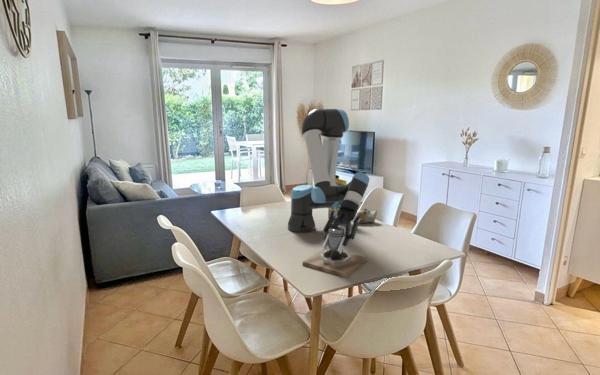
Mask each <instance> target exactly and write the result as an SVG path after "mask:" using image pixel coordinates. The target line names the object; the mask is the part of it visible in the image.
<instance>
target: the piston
mask: <svg viewBox="0 0 600 375" xmlns="http://www.w3.org/2000/svg"><path fill="white" fill-rule="evenodd" d="M328 234H329V236H328V257H329V258H331V259H342V258H343V251H344V249H343V250H342V253H341V254H340V253H339V252H338V251H337V250H338V248H339V245H340V243H341V240H342V238H343V237H345V228H343V227H341V226H338V227H330V228H329V233H328Z"/></svg>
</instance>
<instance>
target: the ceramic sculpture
mask: <svg viewBox="0 0 600 375" xmlns="http://www.w3.org/2000/svg"><path fill="white" fill-rule="evenodd" d="M377 215H378V210H373V211H370V210H369V209H367V208H364V209H363V210H359V211H357V213H356V216H359V217H360V219H361V221H360V222H359V224H364V223H365V224H366V223H372V224H374V223H375V221H376V218H377ZM352 221H353V223H354V220H352Z"/></svg>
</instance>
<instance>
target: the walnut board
mask: <svg viewBox="0 0 600 375" xmlns="http://www.w3.org/2000/svg"><path fill="white" fill-rule="evenodd" d="M326 250H328V247H327V249H326ZM324 251H325V249H324V248H323V249H321V250H319V251H318V252H316V253H315V254H313V255H311V256H309V257H308V258H306V259H304V260H303V261H302V266H304V267H305V266H306V267H307V268H308V267H309V268H312V269H315V270H319V271H321V272H326V273H329V274H333V275H335V276H339V277H342V278H348V276H349V275H351V274H352V273H354V272H355V271H356V270H357V269H359V267H361V266H362V265H363V264H364V263H365V264H366V262H367V261H368V257H366V256H362V255H358V254H356V253H350V252H348V253H349V255H350V256H351V261H350V262H349V263H347V264H346V265H337V266H333V265H329V264H326V263H323V262H322V260H321V258H320V254H321V253H322V252H324ZM325 258H328V259H331V258H329V257H328V255H327V256H326V257H325ZM345 258H346V257H344V256H343V258H342V259H345ZM342 259H332V260H342Z"/></svg>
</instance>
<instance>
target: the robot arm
mask: <svg viewBox="0 0 600 375" xmlns="http://www.w3.org/2000/svg"><path fill="white" fill-rule="evenodd" d="M349 120H350V119H349V116H348V114H347V112H346V111H345V110H343V109H338V108H315V109H312V110H311V111H308V113H307V114H306V115H305V117H304V118H303V120H302V124H301V135H302V138H303V139H305V144H306V150H307V154H308V160H309V164H310V169H311V174H312V178H313V183H314V184H313V185H314V187H313V185H311V184H302V185H297V186H294V187H293V188H292V189H291V192H290V193H291V194H290V217H289V220H288V221H287V222H288V223H287V230H289V231H291V232H295V233H311V232H312V231H315V230H316V223H315V219H314V216H313V210H314V209H315V210H316V209H317V210H318V209H329V208H330V207H335V206H336V205H337V204H338V203H339V202H340V201H341V202H342V204H341V206H340V210H339V211H338V212H335V213H334V212H333V211H332V212H331V216H330V218H329V219H328V220H327V222H326V224H325V225H324V227H323V232H324V233H325V235H324V238H323V240H324V242H323V244H322V248H323V249H325V250H326V249H327V247H328V236H329V234H328V233H329V228H330V227H339V226H340V225H342V224H341V223H345V230H344V237H343V238H342V240H341V243H340V245H339V248H338V250H337V251H338V252H339V253H340V254H341V253H342V250H343V251H344V248H345V247H347V245H348V243H349V241H350V240H354V239H355V238H356V237H355V236H356V234H357V230H358V226H359V224H360V223H359V222H360V221H361V219H360V217H359V216H356V215H357V213H358V212H359V211H358V210H359V207H360V205H361V204H362V201H363V198H364V196H365V194H366V191H367V188H368V186H369V183H370V177H369V176H368V175H367V174H365V173H364V172H361V171H360V172H356V173H354V175H353V176H352V179H351V181H349V182H347V183H346V185H341V186H337V184H336V183H335V178H336V174H337V167H338V166H337V165H338V164H337V163H338V157H339V148H340V140H341V139H343V137H344V133H346V132H348V131H349V127H350V121H349ZM337 215H338V217H337V218H336V216H337ZM335 218H336V221H335V222H334V220H335ZM352 221H354V222H353V224H352ZM351 226H352V227H351Z"/></svg>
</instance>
